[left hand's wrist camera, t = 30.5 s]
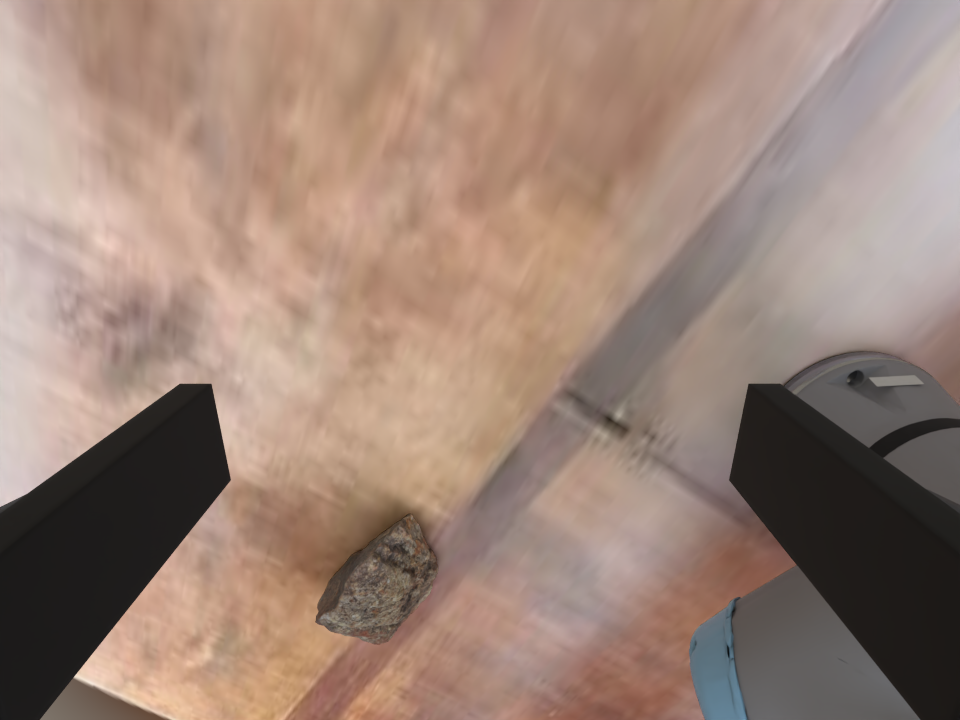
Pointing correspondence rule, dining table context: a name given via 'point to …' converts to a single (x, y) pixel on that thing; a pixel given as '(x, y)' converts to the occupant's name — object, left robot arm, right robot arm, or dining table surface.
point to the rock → (380, 585)
